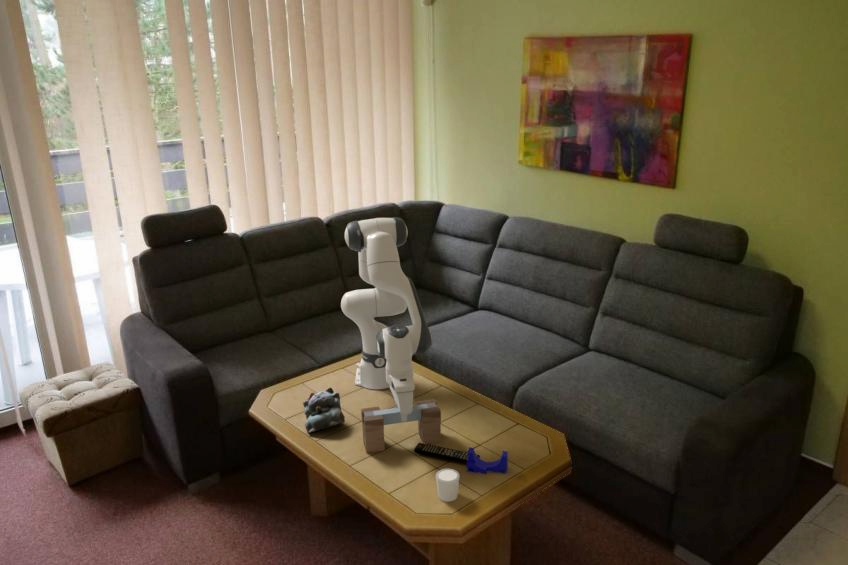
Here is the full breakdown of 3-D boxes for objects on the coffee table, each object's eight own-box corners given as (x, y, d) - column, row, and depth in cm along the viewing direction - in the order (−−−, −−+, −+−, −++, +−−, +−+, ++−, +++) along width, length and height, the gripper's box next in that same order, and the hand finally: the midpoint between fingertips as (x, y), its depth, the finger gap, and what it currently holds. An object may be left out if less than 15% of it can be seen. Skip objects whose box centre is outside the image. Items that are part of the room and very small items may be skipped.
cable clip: (466, 472, 200) (466, 455, 198) (469, 463, 204) (469, 447, 202) (505, 476, 197) (506, 459, 196) (507, 468, 202) (507, 451, 200)
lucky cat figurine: (299, 435, 222) (292, 394, 224) (314, 431, 234) (308, 392, 236) (338, 427, 218) (331, 386, 220) (352, 423, 230) (345, 384, 232)
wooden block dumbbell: (362, 440, 218) (361, 408, 214) (435, 430, 223) (434, 398, 220) (366, 453, 210) (364, 421, 207) (441, 442, 216) (440, 410, 212)
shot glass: (431, 493, 190) (431, 473, 188) (451, 485, 193) (450, 465, 191) (444, 506, 184) (444, 485, 182) (464, 497, 188) (464, 477, 186)
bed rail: (364, 423, 213) (363, 412, 212) (435, 413, 219) (435, 402, 217) (365, 427, 211) (365, 416, 209) (437, 417, 216) (437, 406, 215)
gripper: (384, 363, 218) (385, 400, 223) (395, 390, 199) (397, 430, 204) (402, 361, 220) (403, 397, 224) (416, 387, 201) (417, 427, 205)
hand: (400, 413), depth 214 cm, fingers open, 8 cm apart
